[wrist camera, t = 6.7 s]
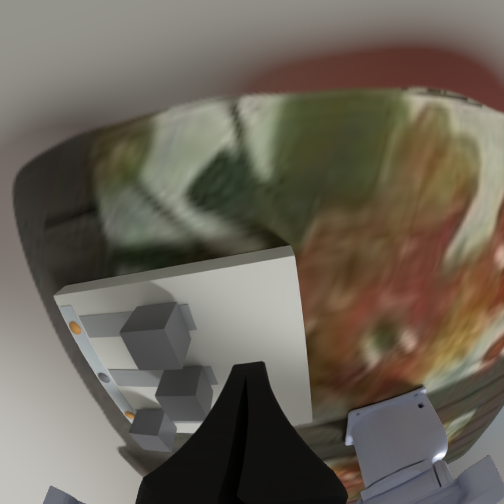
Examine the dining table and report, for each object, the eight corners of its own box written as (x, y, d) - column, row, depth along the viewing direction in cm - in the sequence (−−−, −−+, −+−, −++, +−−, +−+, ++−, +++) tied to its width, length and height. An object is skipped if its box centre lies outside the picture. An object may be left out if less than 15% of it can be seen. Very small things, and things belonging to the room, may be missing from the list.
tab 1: (165, 410, 20) (157, 436, 18) (177, 428, 21) (171, 452, 19) (137, 409, 21) (128, 432, 18) (150, 426, 22) (143, 449, 19)
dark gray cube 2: (201, 365, 18) (195, 395, 15) (213, 391, 19) (209, 421, 16) (164, 367, 18) (154, 396, 16) (178, 393, 19) (171, 420, 17)
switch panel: (290, 245, 18) (294, 256, 16) (310, 407, 23) (313, 423, 21) (65, 285, 19) (52, 297, 17) (140, 417, 24) (135, 430, 22)
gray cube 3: (177, 301, 16) (164, 328, 14) (191, 339, 17) (182, 369, 15) (136, 306, 17) (119, 332, 14) (152, 342, 18) (139, 370, 15)
